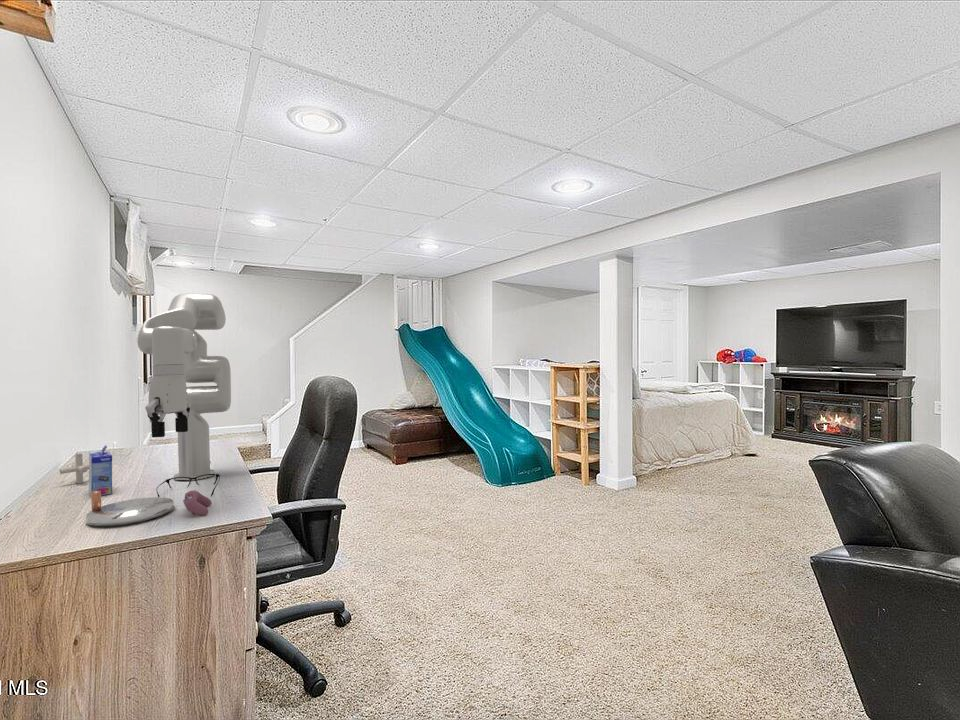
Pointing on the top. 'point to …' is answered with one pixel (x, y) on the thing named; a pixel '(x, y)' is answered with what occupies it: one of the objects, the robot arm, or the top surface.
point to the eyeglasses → (190, 481)
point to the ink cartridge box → (100, 472)
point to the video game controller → (196, 502)
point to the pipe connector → (77, 468)
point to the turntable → (126, 510)
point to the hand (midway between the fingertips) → (170, 434)
